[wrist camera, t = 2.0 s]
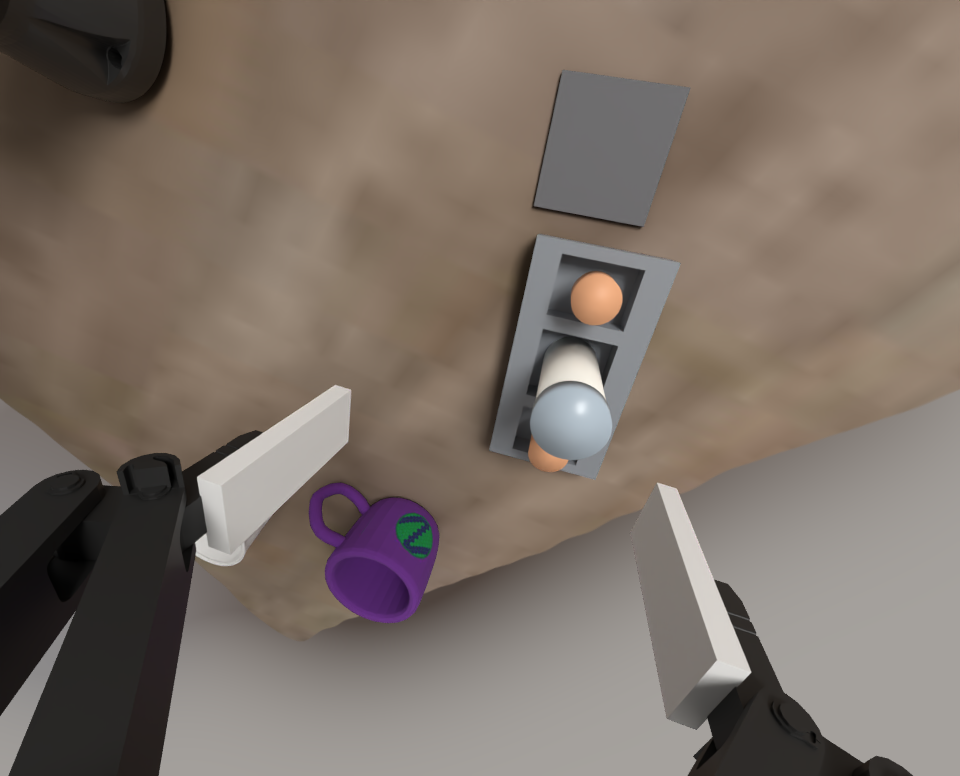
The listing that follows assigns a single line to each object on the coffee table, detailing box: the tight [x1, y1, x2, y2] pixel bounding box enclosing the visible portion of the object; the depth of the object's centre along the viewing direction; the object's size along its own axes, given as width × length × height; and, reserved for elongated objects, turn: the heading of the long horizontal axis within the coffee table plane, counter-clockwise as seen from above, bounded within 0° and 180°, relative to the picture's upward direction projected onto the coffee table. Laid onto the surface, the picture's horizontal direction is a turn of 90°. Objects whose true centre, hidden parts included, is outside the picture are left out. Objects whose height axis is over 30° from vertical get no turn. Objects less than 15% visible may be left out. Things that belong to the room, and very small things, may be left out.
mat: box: [534, 70, 690, 227], centre depth 28 cm, size 9×9×1 cm
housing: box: [489, 234, 681, 480], centre depth 34 cm, size 21×11×3 cm, turn 170°
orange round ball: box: [528, 434, 568, 472], centre depth 34 cm, size 4×4×3 cm
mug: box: [309, 482, 439, 623], centre depth 45 cm, size 17×11×10 cm, turn 45°
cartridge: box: [530, 337, 612, 460], centre depth 30 cm, size 5×5×12 cm
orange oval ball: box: [571, 271, 622, 325], centre depth 28 cm, size 4×4×3 cm
